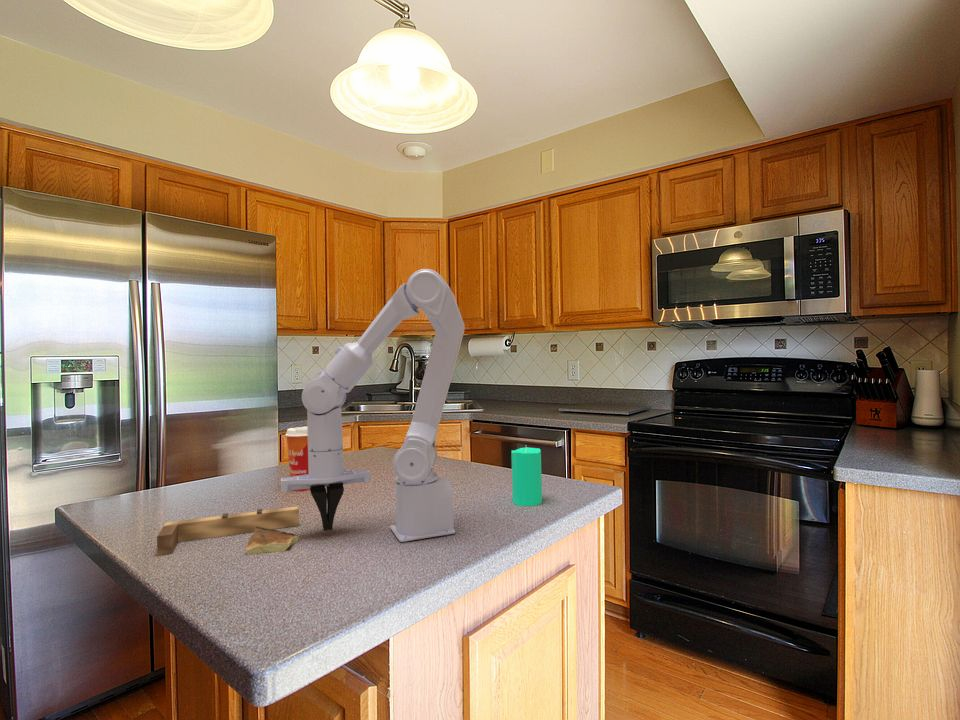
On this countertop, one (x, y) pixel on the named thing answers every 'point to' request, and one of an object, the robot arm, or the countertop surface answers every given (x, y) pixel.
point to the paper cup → (298, 452)
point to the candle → (526, 476)
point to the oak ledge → (223, 526)
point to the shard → (269, 541)
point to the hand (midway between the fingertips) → (327, 528)
